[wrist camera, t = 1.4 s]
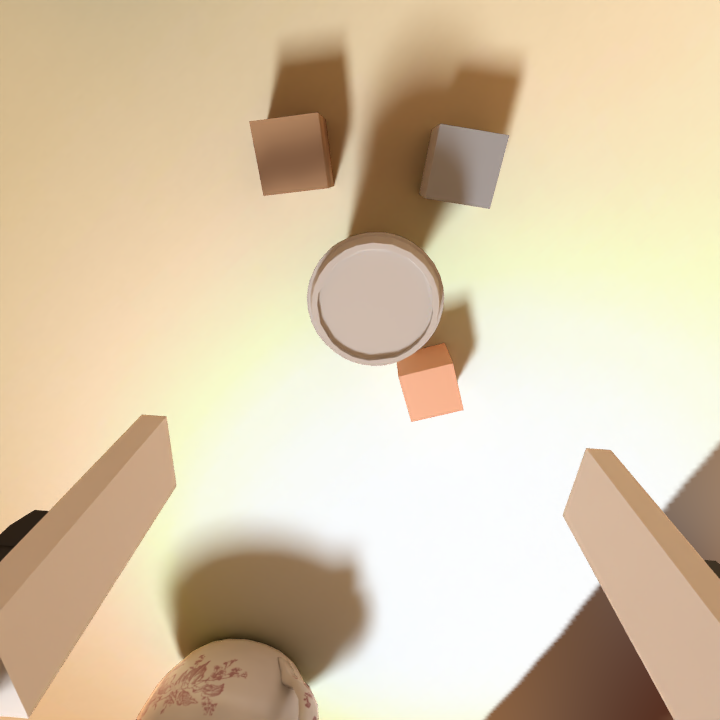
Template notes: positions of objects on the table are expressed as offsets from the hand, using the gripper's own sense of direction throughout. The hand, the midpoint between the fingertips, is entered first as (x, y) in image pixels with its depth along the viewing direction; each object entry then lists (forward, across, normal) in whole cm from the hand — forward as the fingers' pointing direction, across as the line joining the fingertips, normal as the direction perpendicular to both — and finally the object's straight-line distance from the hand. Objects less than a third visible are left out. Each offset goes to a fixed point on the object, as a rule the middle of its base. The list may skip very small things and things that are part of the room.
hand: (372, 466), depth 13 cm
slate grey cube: (+28, +6, +9) cm, 30 cm away
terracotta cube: (+28, +6, -10) cm, 31 cm away
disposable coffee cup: (+28, 0, 0) cm, 28 cm away
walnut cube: (+28, -7, +9) cm, 31 cm away
